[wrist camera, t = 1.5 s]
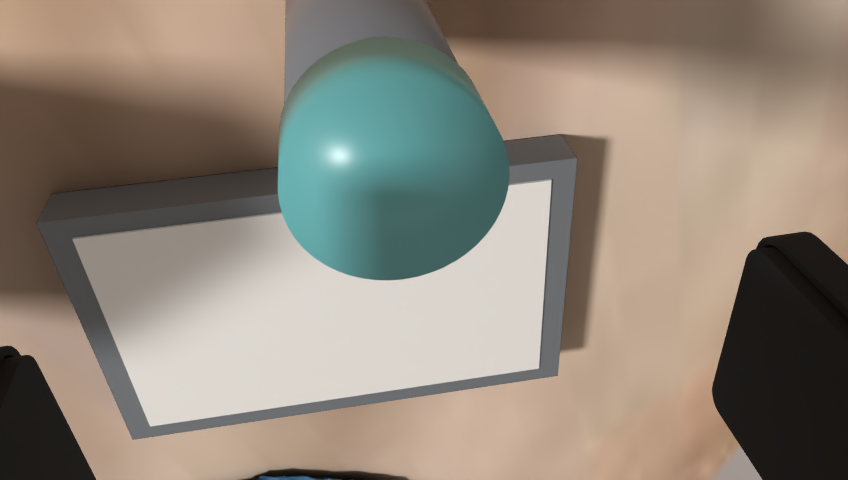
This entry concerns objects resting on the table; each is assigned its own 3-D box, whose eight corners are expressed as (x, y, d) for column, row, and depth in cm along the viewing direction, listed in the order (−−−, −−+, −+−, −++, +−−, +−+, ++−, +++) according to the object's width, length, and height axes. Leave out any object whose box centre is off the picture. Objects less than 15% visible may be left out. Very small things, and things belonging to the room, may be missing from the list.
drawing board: (561, 134, 29) (578, 159, 27) (545, 346, 36) (558, 377, 34) (51, 193, 27) (35, 224, 25) (140, 406, 34) (132, 441, 32)
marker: (403, -97, 23) (512, 66, 12) (410, 30, 26) (507, 265, 14) (273, -86, 23) (257, 93, 11) (293, 42, 25) (297, 293, 14)
